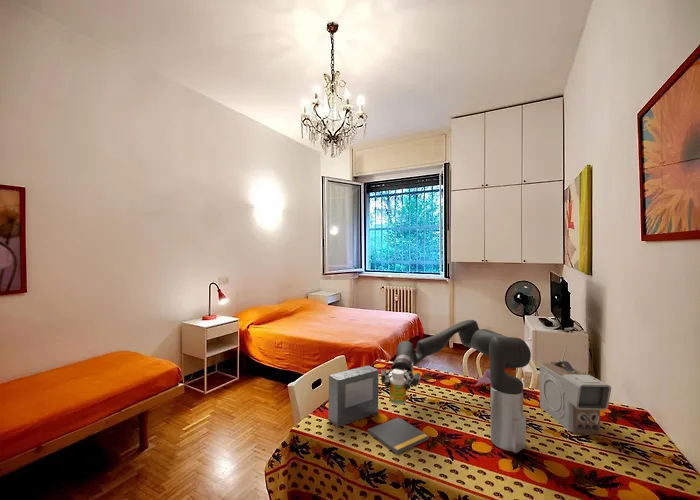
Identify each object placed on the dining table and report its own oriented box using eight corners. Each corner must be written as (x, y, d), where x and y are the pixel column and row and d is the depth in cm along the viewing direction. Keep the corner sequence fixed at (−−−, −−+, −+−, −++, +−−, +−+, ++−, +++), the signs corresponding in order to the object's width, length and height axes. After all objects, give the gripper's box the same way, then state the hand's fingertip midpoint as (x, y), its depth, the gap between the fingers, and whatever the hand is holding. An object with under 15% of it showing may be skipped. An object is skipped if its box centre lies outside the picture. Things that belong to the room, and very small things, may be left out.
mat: (428, 439, 102) (428, 435, 102) (396, 454, 94) (396, 450, 94) (398, 420, 113) (398, 417, 113) (367, 432, 105) (367, 428, 105)
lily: (503, 388, 143) (494, 367, 148) (511, 388, 133) (501, 365, 137) (478, 396, 144) (469, 374, 148) (483, 396, 133) (474, 372, 138)
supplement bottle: (393, 406, 101) (393, 375, 101) (386, 398, 106) (387, 369, 106) (409, 404, 102) (409, 374, 102) (401, 396, 107) (402, 367, 107)
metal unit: (378, 413, 118) (379, 370, 118) (337, 428, 108) (338, 380, 108) (367, 405, 124) (367, 364, 124) (327, 419, 113) (328, 374, 114)
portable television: (578, 440, 102) (578, 347, 102) (537, 405, 126) (537, 329, 126) (616, 441, 102) (616, 347, 102) (567, 405, 125) (567, 330, 126)
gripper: (422, 380, 116) (419, 401, 99) (383, 375, 120) (374, 395, 103) (422, 359, 116) (419, 377, 99) (383, 355, 120) (374, 372, 103)
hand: (396, 386), depth 101 cm, fingers closed on supplement bottle, 5 cm apart
